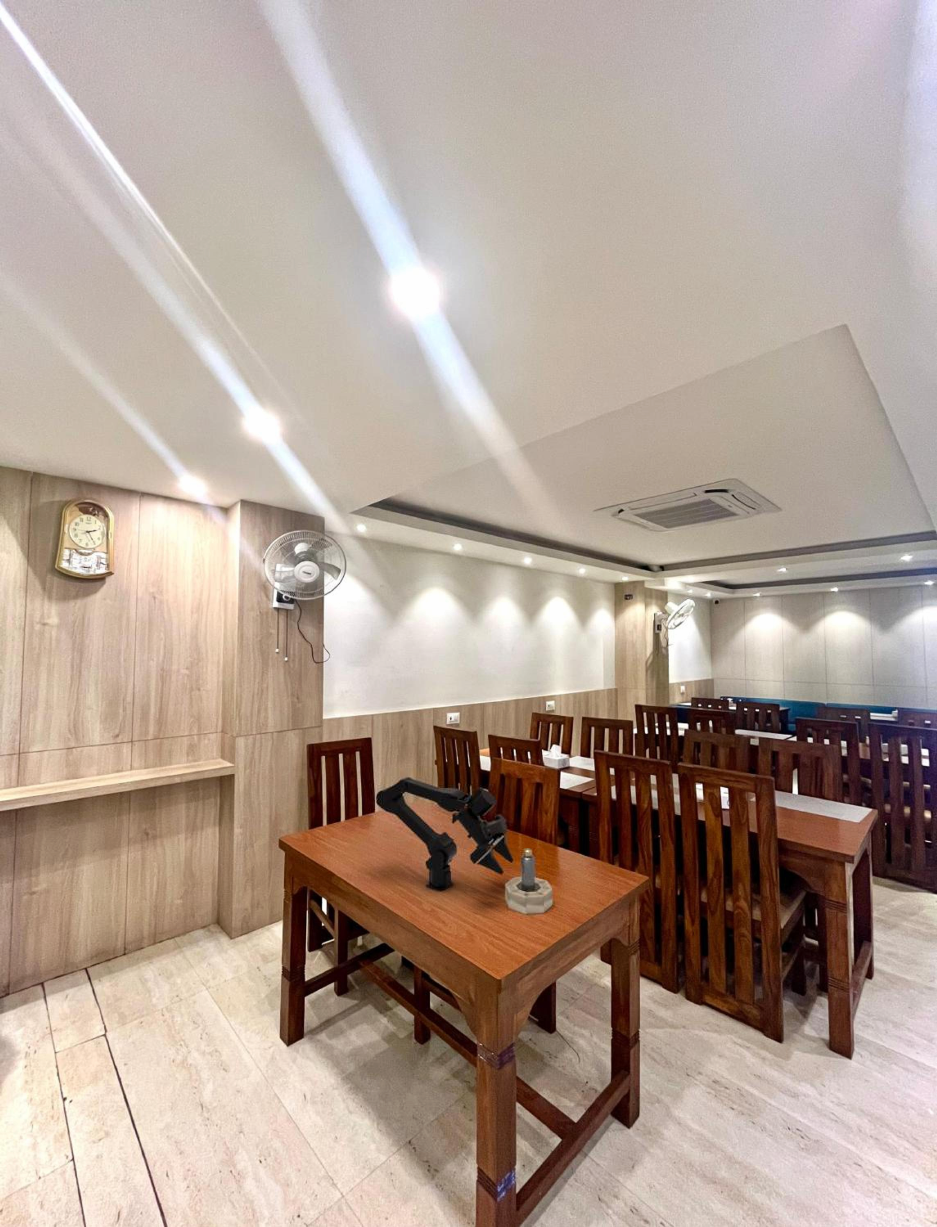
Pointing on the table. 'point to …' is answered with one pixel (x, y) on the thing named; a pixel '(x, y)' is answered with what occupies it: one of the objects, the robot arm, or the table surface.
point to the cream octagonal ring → (528, 896)
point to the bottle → (528, 871)
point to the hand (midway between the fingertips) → (507, 867)
